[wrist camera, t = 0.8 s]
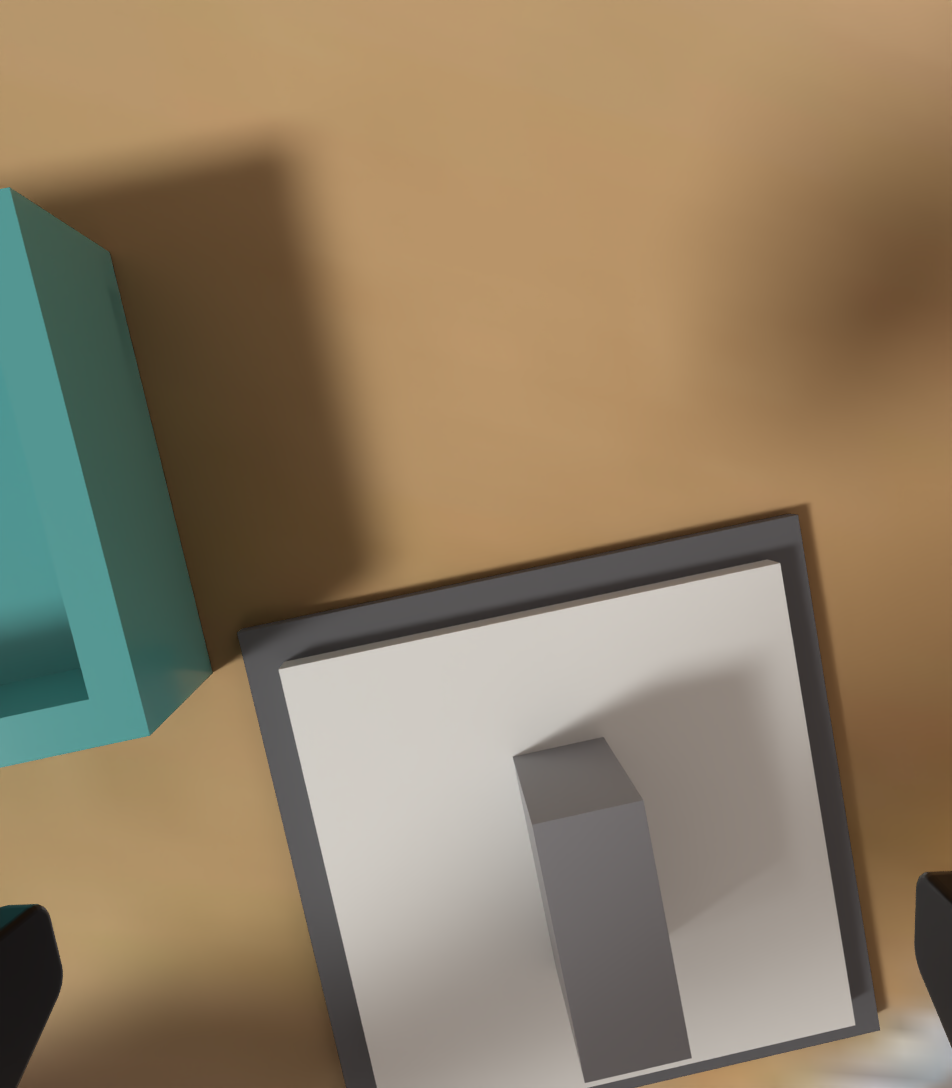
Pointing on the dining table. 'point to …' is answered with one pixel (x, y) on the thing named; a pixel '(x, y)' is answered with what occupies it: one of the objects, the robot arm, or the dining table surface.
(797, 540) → the mat
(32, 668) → the dish
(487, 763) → the lid
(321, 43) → the dining table surface
